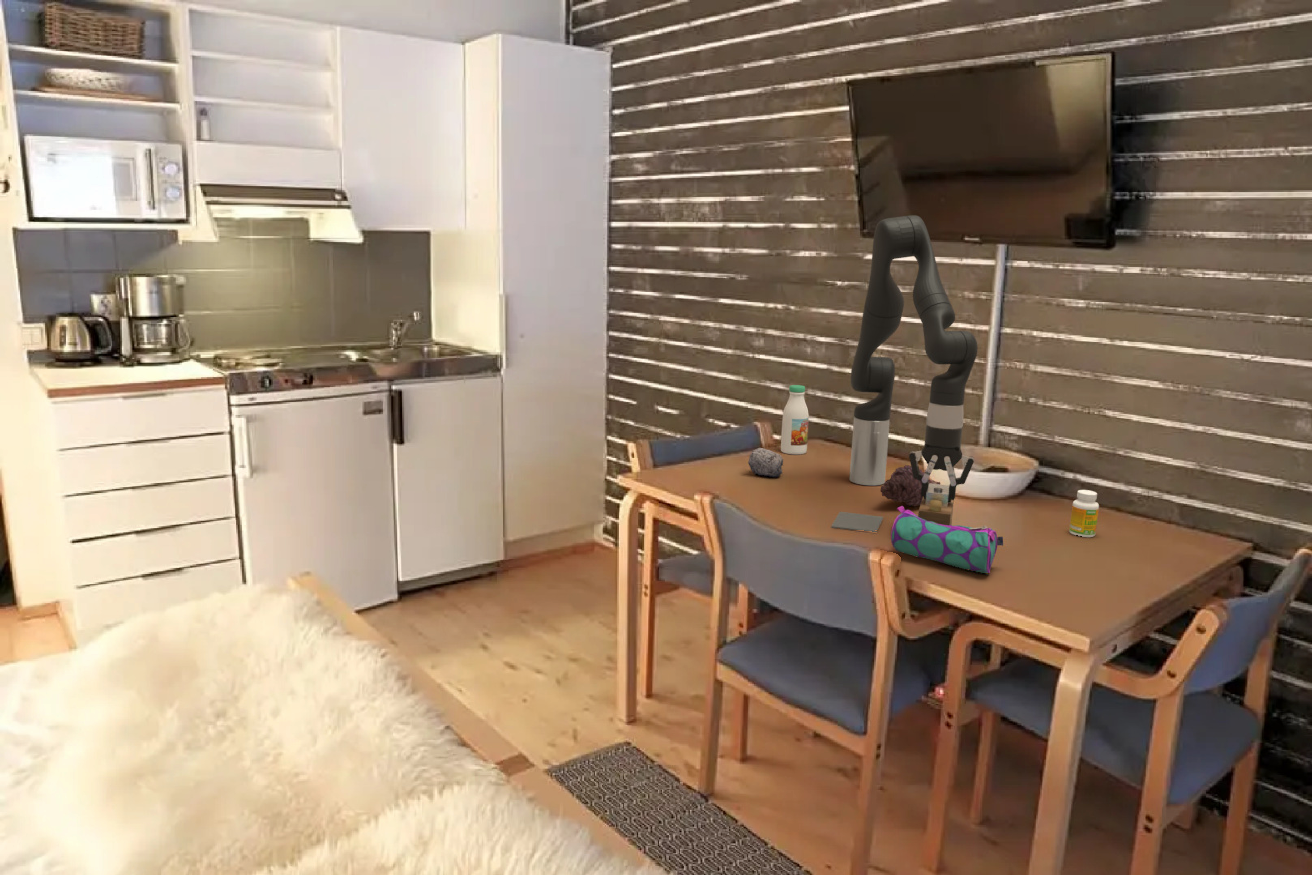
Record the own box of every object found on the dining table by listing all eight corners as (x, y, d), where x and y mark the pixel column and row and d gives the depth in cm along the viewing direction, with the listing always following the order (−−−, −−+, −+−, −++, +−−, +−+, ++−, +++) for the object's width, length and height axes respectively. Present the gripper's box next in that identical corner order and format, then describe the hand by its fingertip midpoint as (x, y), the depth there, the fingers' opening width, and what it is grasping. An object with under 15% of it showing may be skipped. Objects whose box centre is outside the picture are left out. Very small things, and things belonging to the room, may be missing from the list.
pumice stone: (789, 484, 257) (768, 466, 265) (796, 459, 254) (774, 442, 261) (758, 488, 252) (738, 469, 259) (766, 462, 248) (744, 444, 256)
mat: (839, 513, 224) (840, 511, 224) (883, 518, 221) (883, 516, 221) (831, 527, 213) (831, 525, 213) (876, 533, 210) (876, 531, 210)
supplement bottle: (1084, 539, 210) (1089, 496, 208) (1063, 531, 215) (1068, 490, 212) (1100, 535, 212) (1106, 494, 210) (1080, 528, 217) (1085, 487, 215)
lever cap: (928, 496, 213) (929, 481, 212) (949, 498, 212) (950, 483, 211) (925, 505, 206) (926, 490, 205) (946, 508, 204) (948, 492, 203)
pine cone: (892, 515, 223) (895, 474, 221) (864, 504, 232) (867, 465, 230) (948, 507, 232) (951, 467, 229) (919, 496, 240) (922, 458, 238)
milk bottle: (780, 454, 281) (783, 387, 277) (781, 448, 289) (784, 383, 284) (806, 455, 280) (810, 388, 276) (806, 449, 287) (810, 384, 283)
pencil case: (1000, 568, 191) (1006, 522, 189) (986, 580, 184) (991, 533, 182) (901, 545, 203) (905, 502, 200) (885, 556, 196) (888, 511, 194)
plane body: (920, 525, 217) (924, 485, 214) (951, 529, 214) (955, 488, 212) (914, 544, 203) (918, 501, 201) (948, 548, 201) (952, 505, 199)
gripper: (979, 423, 206) (972, 499, 210) (912, 417, 211) (905, 492, 214) (978, 430, 199) (970, 508, 203) (908, 423, 204) (902, 500, 207)
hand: (937, 499), depth 208 cm, fingers closed on lever cap, 4 cm apart
